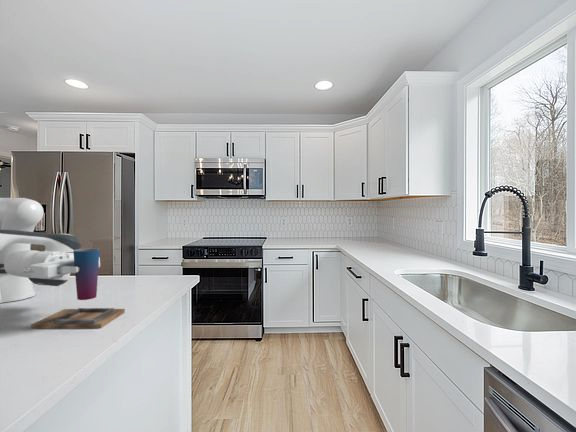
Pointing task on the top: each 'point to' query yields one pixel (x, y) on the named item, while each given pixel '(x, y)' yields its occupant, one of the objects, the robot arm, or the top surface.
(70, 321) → the board
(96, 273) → the cup
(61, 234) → the robot arm
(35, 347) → the top surface
